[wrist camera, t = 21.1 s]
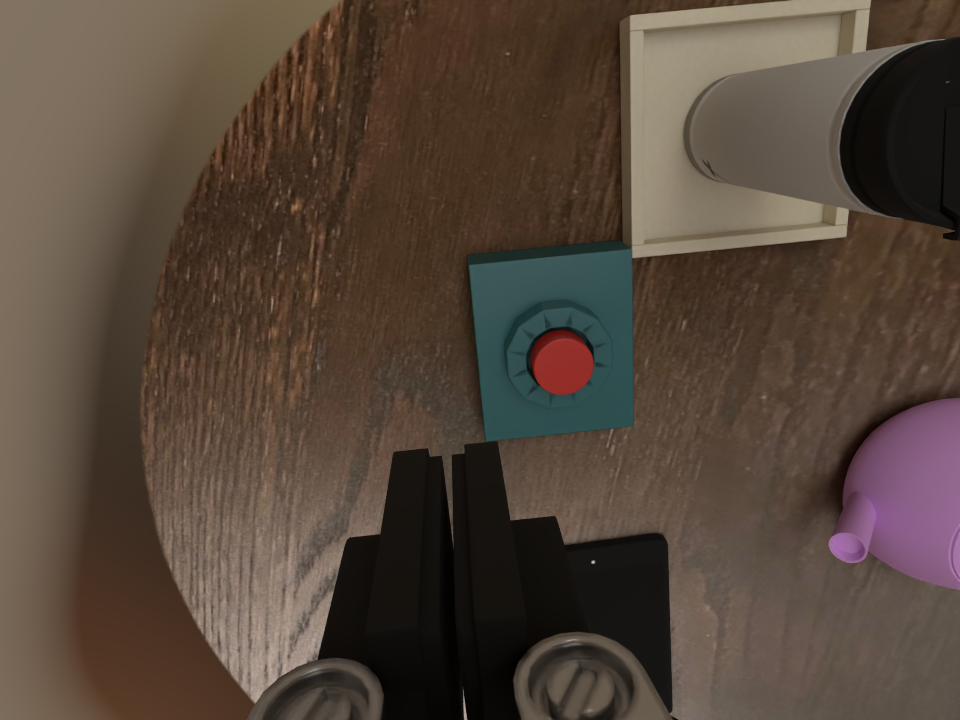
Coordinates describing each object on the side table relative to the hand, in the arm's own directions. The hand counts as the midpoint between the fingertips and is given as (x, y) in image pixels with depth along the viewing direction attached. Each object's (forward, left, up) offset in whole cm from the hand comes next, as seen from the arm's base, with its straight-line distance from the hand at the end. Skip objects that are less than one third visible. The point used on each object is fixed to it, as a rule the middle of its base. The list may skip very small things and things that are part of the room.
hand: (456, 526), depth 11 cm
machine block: (+8, +6, -33) cm, 35 cm away
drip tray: (-4, +18, -33) cm, 38 cm away
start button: (+8, +6, -29) cm, 30 cm away
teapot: (+22, +33, -33) cm, 52 cm away
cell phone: (+34, +10, -33) cm, 48 cm away
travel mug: (-4, +18, -32) cm, 37 cm away
